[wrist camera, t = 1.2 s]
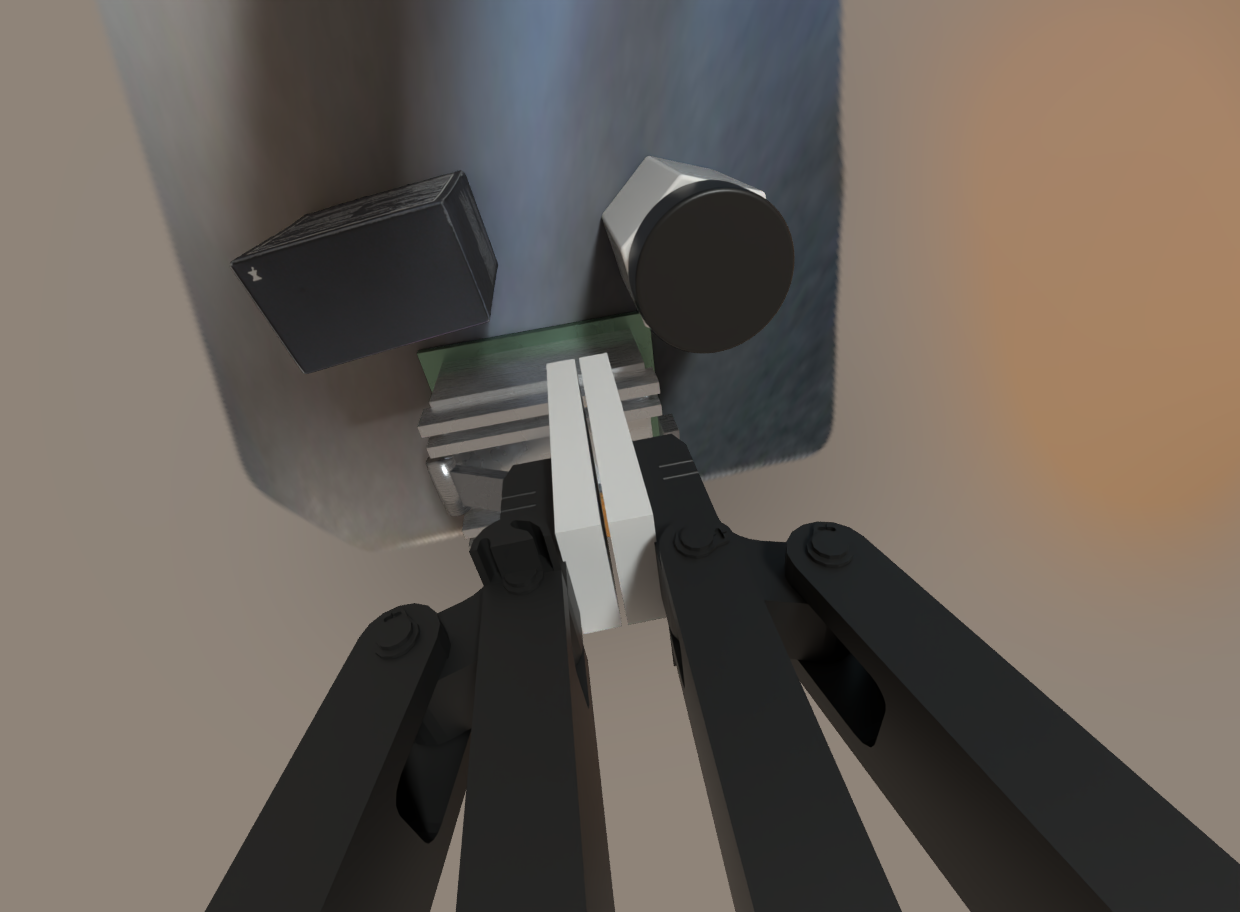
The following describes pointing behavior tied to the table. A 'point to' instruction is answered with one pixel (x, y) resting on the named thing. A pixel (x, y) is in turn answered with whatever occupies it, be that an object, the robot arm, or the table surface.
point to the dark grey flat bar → (472, 486)
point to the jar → (699, 254)
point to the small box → (374, 273)
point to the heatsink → (530, 394)
